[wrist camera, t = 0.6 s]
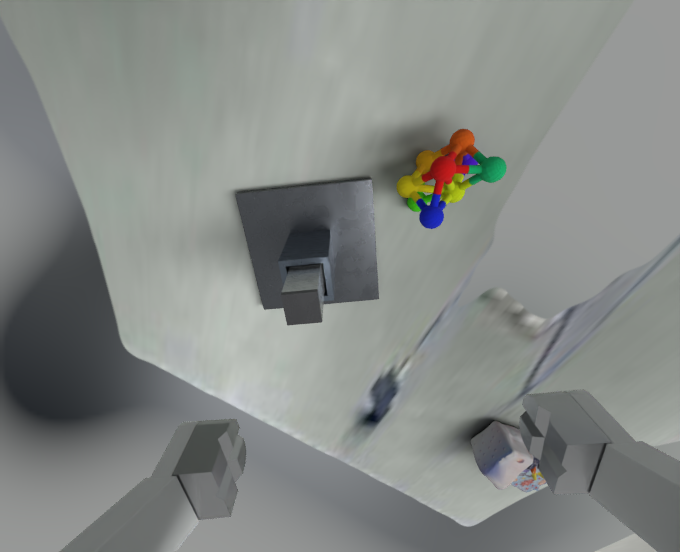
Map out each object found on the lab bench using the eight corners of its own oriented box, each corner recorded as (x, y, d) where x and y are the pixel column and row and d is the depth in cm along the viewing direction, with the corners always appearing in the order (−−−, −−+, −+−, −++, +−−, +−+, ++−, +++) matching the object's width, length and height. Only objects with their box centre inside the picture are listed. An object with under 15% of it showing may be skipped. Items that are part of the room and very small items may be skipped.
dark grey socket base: (238, 192, 48) (209, 214, 38) (371, 177, 48) (380, 196, 37) (265, 305, 57) (248, 348, 47) (377, 294, 56) (387, 336, 46)
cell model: (518, 456, 60) (593, 484, 64) (491, 409, 69) (558, 436, 74) (474, 494, 65) (546, 516, 70) (455, 444, 74) (520, 467, 79)
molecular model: (412, 214, 50) (433, 239, 40) (385, 178, 48) (400, 193, 37) (478, 165, 47) (519, 177, 37) (452, 123, 45) (489, 124, 34)
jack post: (297, 241, 50) (280, 294, 35) (323, 238, 50) (317, 291, 35) (301, 265, 52) (286, 325, 37) (327, 262, 51) (322, 322, 37)
